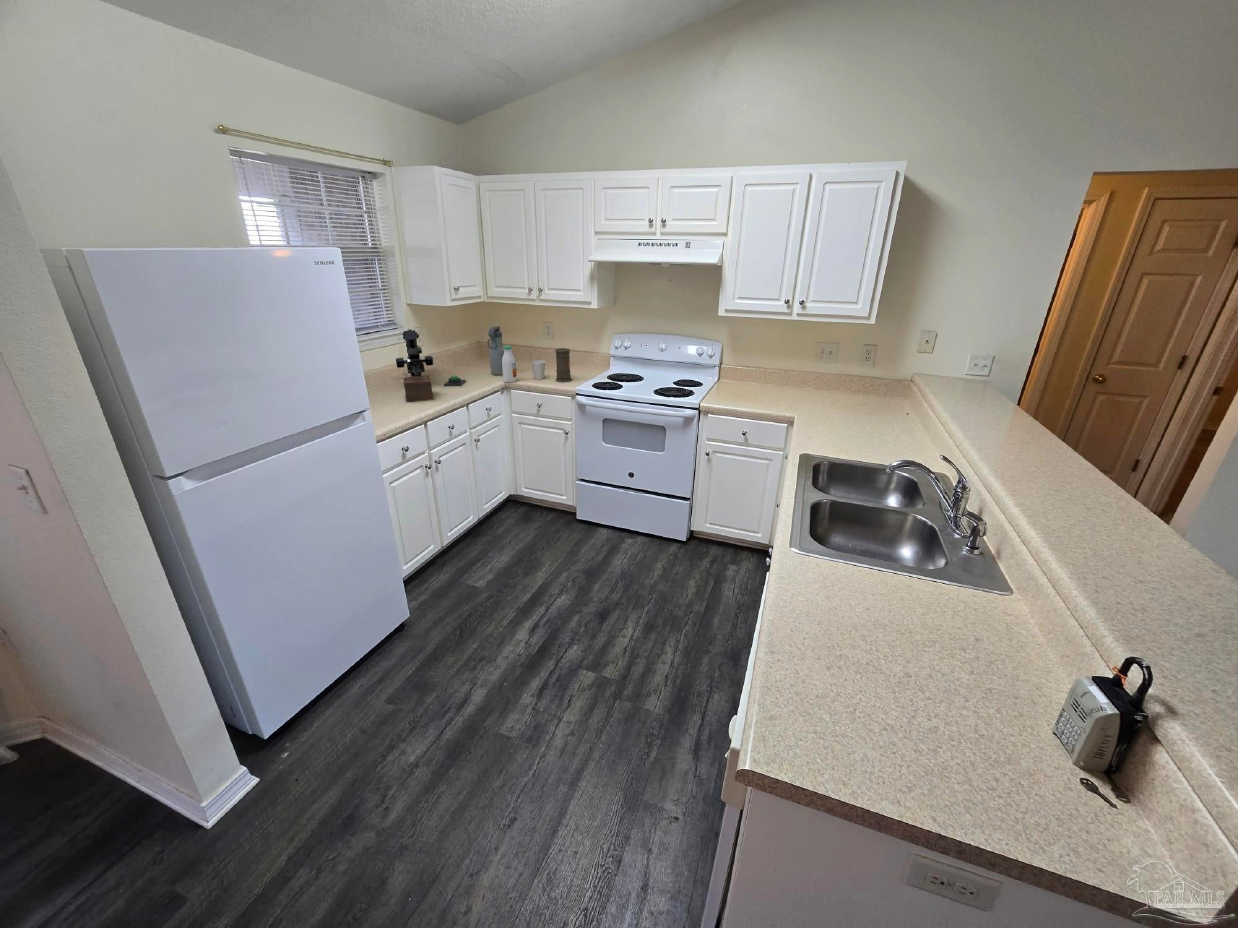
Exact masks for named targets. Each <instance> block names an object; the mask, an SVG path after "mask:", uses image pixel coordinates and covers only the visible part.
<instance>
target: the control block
mask: <svg viewBox="0 0 1238 928" xmlns="http://www.w3.org/2000/svg"><path fill="white" fill-rule="evenodd" d="M465 383H466V378H465V379H464V378H463V379H462V378H461V377H459V376H458V379H451V377H449V378H448V380H447V381H446V382H444V384H443V386H444V387H461V386H462V385H463V384H465Z"/></svg>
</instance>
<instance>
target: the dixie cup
mask: <svg viewBox="0 0 1238 928" xmlns="http://www.w3.org/2000/svg"><path fill="white" fill-rule="evenodd" d="M546 362H547V361H546V360H542V359H534V360H531V362H530V363H531V366H532V373H533V377H534V379H535V380H544V379H545V371H546Z"/></svg>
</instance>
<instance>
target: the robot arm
mask: <svg viewBox="0 0 1238 928" xmlns="http://www.w3.org/2000/svg"><path fill="white" fill-rule="evenodd" d="M419 338H420V334H419V333H418V332H417V331H416V329H414V330H412V329H407V330H403V332H402V339H403V340H404V342H405V341H406V347H407V353H408V356H407V359H404V357H396V358H395V362H396V363H395V364H396V368H398V369H401V368H405V365H406V369H407V374H410V377H415V376H423V374H422V373H425V372H426V370H425V366H427V367H428V366H433V365H434V357H433V356H432V355H425V356H424V358H421V356H420V354H423V349H422V346H419V344H418V345H417V342H418V339H419Z"/></svg>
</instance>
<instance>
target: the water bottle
mask: <svg viewBox="0 0 1238 928" xmlns="http://www.w3.org/2000/svg"><path fill="white" fill-rule="evenodd" d="M487 336H488V337H489V339H487V348H489V350H488V353H489V365H490V374H491V375H493V376H503V370H502V358H503V355H504V348H503V347H504V345H503V332H502V331H501V326H499V325H497V326H495V325H494V326H492V327H489V329H488V332H487ZM490 344H491V345H490Z"/></svg>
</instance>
